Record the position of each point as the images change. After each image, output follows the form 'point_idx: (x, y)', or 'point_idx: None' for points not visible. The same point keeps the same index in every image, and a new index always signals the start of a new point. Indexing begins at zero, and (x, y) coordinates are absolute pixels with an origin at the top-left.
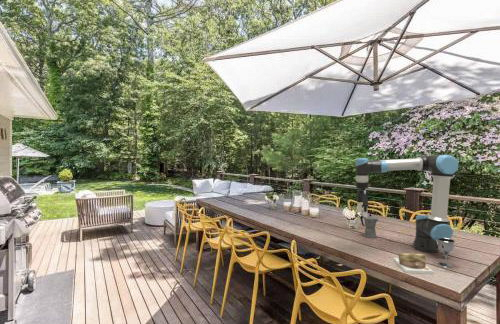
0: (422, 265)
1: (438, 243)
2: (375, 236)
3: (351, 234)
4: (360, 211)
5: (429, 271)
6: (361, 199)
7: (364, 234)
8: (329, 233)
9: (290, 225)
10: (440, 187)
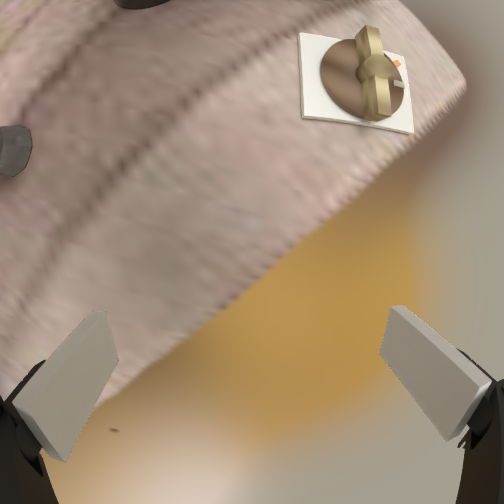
0: (396, 68)
1: None
2: (25, 129)
3: (4, 226)
4: (106, 332)
5: (405, 66)
6: (24, 485)
7: (10, 174)
8: (18, 312)
9: None
10: None
